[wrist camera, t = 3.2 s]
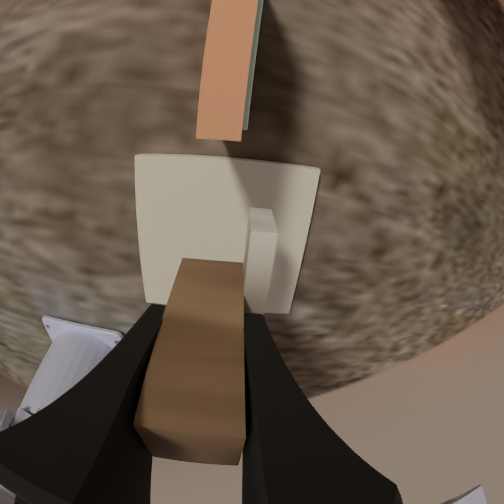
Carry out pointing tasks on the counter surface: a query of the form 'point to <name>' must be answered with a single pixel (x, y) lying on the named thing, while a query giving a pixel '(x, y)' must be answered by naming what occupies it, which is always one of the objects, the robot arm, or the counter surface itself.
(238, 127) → the tile
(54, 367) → the robot arm
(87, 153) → the counter surface
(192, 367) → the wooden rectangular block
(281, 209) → the mat
